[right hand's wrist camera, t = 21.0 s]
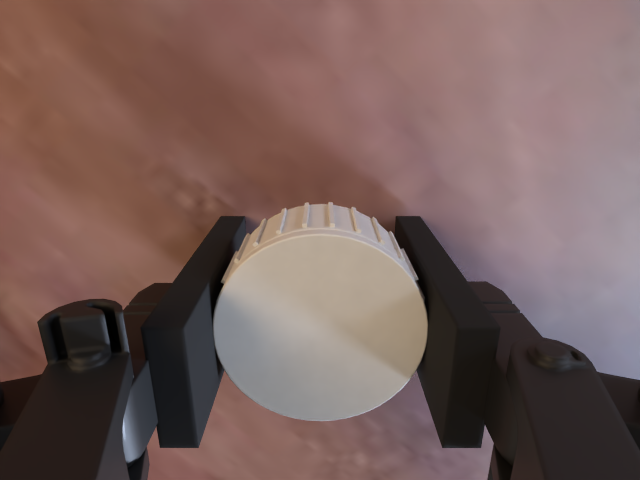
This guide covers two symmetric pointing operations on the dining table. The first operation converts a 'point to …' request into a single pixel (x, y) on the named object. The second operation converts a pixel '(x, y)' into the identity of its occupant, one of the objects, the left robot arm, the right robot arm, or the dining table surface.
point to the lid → (320, 314)
